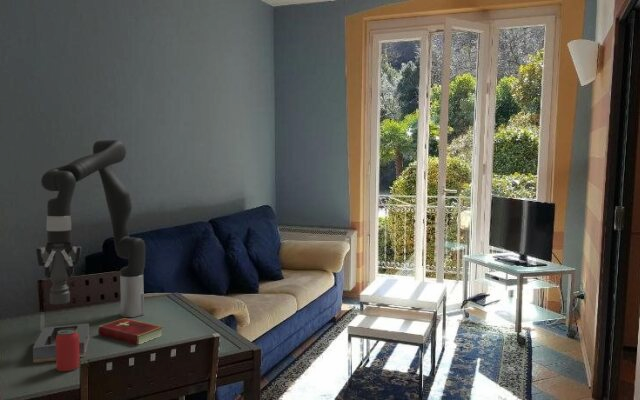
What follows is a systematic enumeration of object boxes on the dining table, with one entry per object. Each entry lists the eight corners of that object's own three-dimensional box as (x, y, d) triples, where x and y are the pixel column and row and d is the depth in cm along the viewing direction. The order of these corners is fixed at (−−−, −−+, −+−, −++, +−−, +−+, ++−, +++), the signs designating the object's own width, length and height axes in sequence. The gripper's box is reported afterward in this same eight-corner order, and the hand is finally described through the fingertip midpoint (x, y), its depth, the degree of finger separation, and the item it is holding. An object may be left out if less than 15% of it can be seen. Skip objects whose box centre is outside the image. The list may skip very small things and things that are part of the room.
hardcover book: (137, 346, 177) (137, 335, 177) (98, 336, 187) (98, 325, 186) (163, 336, 188) (162, 325, 187) (124, 327, 197) (124, 317, 197)
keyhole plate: (89, 336, 185) (89, 323, 185) (84, 357, 166) (84, 342, 165) (44, 340, 180) (43, 327, 180) (33, 362, 161) (32, 347, 160)
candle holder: (61, 305, 168) (60, 231, 167) (45, 303, 170) (44, 231, 168) (73, 300, 174) (73, 229, 173) (58, 299, 176) (57, 229, 174)
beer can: (61, 364, 160) (60, 327, 159) (82, 363, 160) (82, 327, 160) (52, 372, 153) (51, 334, 152) (74, 372, 154) (73, 334, 153)
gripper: (83, 227, 176) (83, 273, 177) (37, 228, 172) (38, 276, 173) (80, 229, 169) (81, 278, 170) (33, 230, 165) (33, 280, 165)
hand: (59, 276), depth 171 cm, fingers closed on candle holder, 6 cm apart
